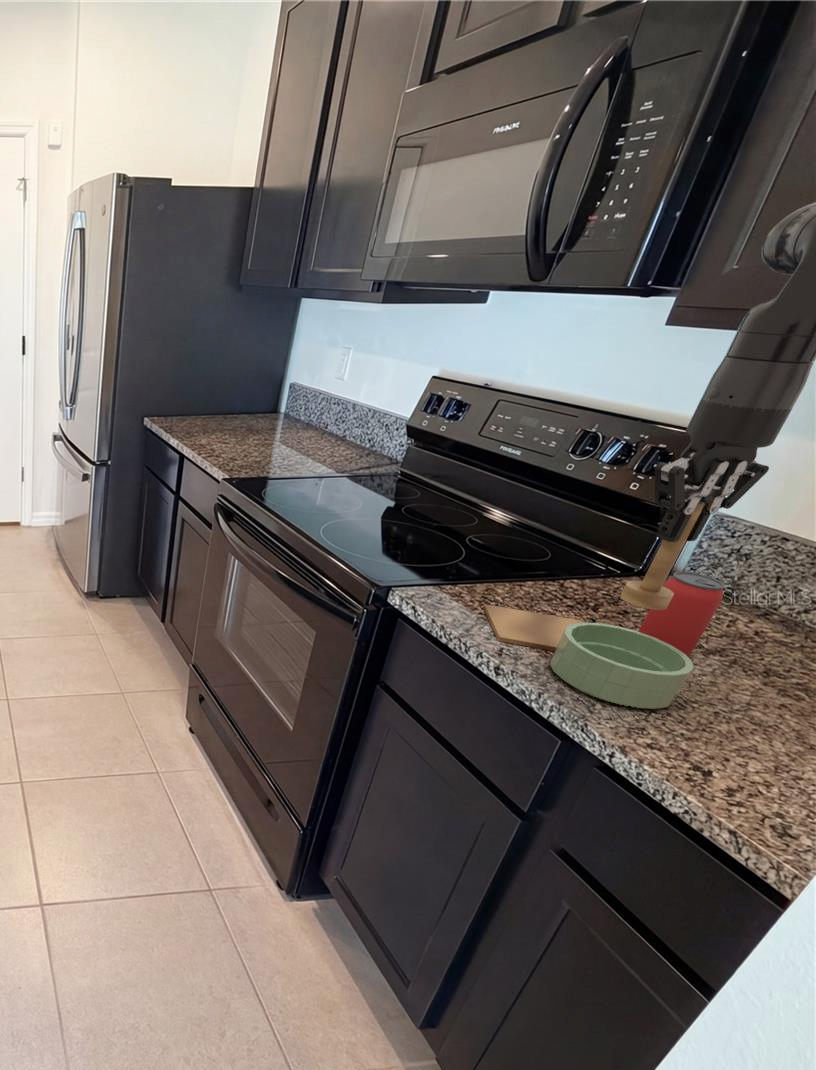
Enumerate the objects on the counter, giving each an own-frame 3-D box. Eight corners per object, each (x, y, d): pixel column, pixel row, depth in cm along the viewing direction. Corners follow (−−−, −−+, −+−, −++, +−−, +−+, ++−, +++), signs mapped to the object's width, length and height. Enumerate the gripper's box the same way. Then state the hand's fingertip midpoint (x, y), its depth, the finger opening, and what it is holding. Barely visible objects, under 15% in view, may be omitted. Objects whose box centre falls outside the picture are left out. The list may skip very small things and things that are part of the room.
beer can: (681, 664, 97) (722, 593, 91) (626, 645, 102) (662, 576, 96) (695, 652, 100) (736, 582, 95) (641, 633, 105) (677, 566, 99)
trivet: (581, 625, 107) (583, 620, 107) (607, 661, 97) (609, 656, 97) (482, 608, 112) (484, 604, 112) (497, 641, 102) (499, 636, 102)
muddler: (657, 597, 88) (709, 498, 82) (673, 612, 84) (729, 510, 78) (614, 590, 90) (661, 493, 83) (627, 605, 86) (678, 505, 80)
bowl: (647, 669, 96) (667, 634, 93) (690, 722, 84) (714, 684, 82) (537, 649, 100) (553, 615, 97) (564, 697, 89) (582, 660, 86)
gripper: (730, 407, 71) (656, 553, 79) (837, 405, 73) (754, 548, 80) (662, 394, 78) (600, 530, 86) (761, 393, 79) (691, 526, 87)
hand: (675, 538), depth 83 cm, fingers closed on muddler
